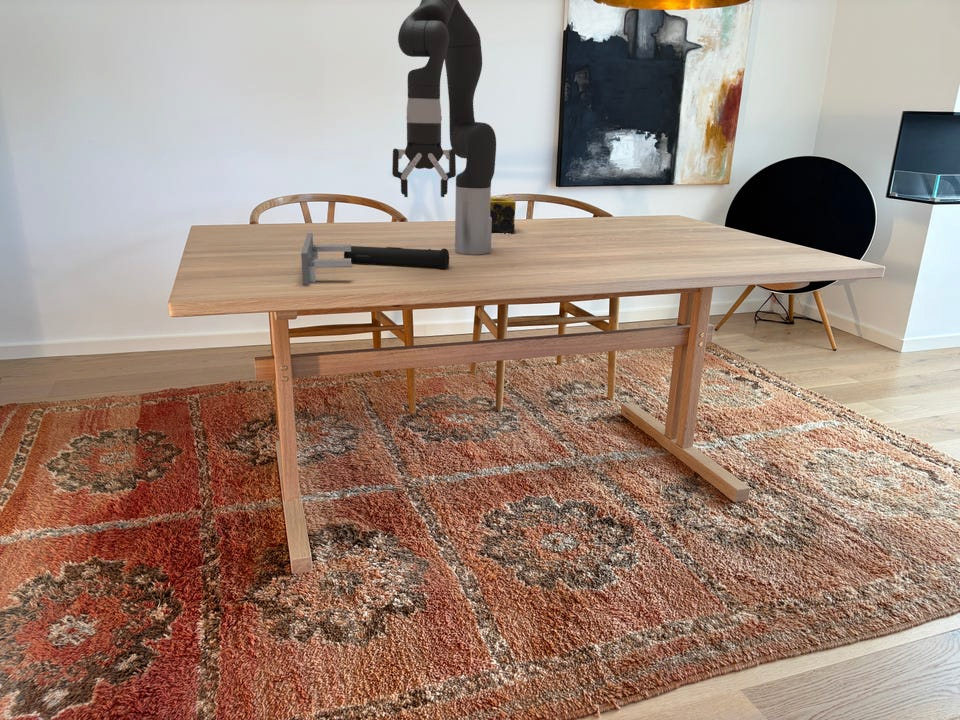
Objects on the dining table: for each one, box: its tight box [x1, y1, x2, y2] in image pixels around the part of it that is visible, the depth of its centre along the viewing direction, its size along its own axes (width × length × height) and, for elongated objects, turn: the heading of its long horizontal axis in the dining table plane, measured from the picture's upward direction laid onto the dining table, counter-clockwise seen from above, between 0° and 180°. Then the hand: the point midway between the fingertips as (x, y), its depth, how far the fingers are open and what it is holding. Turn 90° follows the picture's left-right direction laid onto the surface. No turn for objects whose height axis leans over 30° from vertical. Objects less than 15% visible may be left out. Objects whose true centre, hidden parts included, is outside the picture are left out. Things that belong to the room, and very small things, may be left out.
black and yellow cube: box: [490, 196, 517, 235], centre depth 227 cm, size 10×10×10 cm
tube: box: [343, 245, 450, 271], centre depth 177 cm, size 25×6×6 cm, turn 83°
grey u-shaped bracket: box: [308, 243, 352, 284], centre depth 166 cm, size 9×18×6 cm, turn 10°
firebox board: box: [300, 232, 314, 287], centre depth 165 cm, size 1×24×8 cm, turn 10°
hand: (424, 196), depth 165 cm, fingers open, 8 cm apart
